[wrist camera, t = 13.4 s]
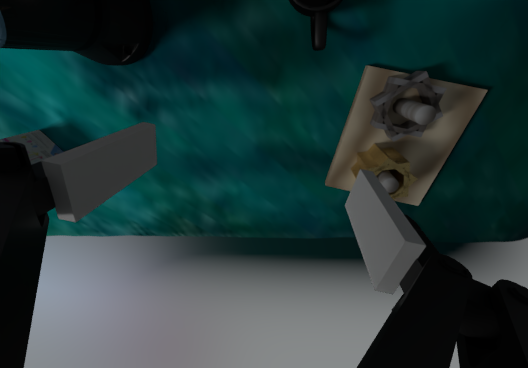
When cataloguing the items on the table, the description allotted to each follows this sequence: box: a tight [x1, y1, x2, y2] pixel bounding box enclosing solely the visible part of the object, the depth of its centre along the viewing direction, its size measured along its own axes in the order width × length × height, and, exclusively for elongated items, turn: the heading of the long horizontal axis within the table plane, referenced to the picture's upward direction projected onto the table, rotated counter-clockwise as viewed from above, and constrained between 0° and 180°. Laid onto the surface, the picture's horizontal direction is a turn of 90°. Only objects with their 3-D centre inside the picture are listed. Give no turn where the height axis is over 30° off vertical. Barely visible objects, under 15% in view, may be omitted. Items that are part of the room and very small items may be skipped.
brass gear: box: [351, 144, 417, 200], centre depth 38 cm, size 8×8×7 cm
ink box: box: [0, 130, 64, 165], centre depth 45 cm, size 9×8×13 cm
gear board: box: [325, 66, 488, 206], centre depth 36 cm, size 18×22×10 cm
